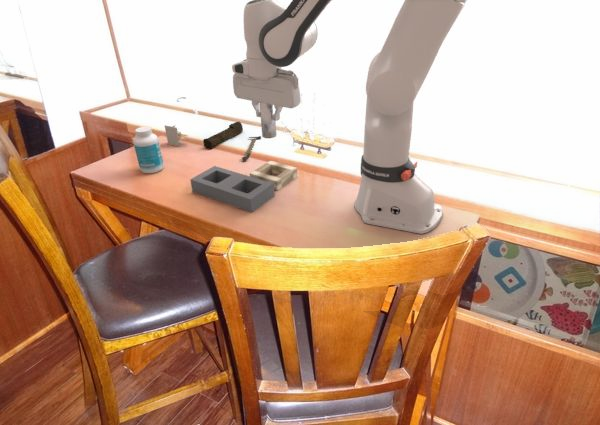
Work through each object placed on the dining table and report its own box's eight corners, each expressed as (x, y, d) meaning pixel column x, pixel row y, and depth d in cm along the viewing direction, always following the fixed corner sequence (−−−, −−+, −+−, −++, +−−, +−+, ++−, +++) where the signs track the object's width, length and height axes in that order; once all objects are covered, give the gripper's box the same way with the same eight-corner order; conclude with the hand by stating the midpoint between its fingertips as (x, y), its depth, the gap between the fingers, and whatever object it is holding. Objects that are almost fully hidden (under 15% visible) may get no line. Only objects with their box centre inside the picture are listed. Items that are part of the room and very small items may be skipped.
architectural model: (174, 141, 159) (170, 122, 155) (189, 144, 156) (185, 125, 152) (168, 145, 156) (164, 125, 152) (182, 148, 153) (179, 128, 149)
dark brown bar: (211, 151, 150) (209, 138, 148) (203, 148, 152) (201, 136, 150) (248, 133, 163) (247, 121, 161) (240, 131, 165) (239, 119, 163)
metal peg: (279, 134, 123) (277, 99, 118) (270, 139, 121) (268, 104, 115) (268, 132, 125) (265, 97, 120) (259, 136, 123) (256, 101, 117)
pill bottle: (167, 170, 138) (158, 130, 131) (144, 176, 135) (133, 135, 128) (160, 162, 143) (151, 122, 136) (137, 167, 140) (127, 128, 133)
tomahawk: (244, 139, 160) (243, 136, 160) (261, 138, 159) (261, 135, 158) (229, 163, 142) (228, 160, 142) (248, 162, 141) (248, 159, 141)
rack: (274, 196, 122) (273, 183, 120) (251, 212, 115) (250, 199, 113) (216, 177, 133) (214, 165, 131) (192, 191, 126) (190, 179, 124)
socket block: (297, 176, 132) (296, 167, 130) (277, 190, 125) (277, 181, 123) (270, 169, 136) (270, 160, 135) (250, 182, 129) (249, 173, 128)
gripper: (304, 68, 110) (305, 121, 117) (242, 60, 120) (247, 108, 127) (290, 74, 106) (292, 128, 113) (227, 65, 116) (232, 115, 123)
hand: (268, 118), depth 120 cm, fingers closed on metal peg, 4 cm apart
